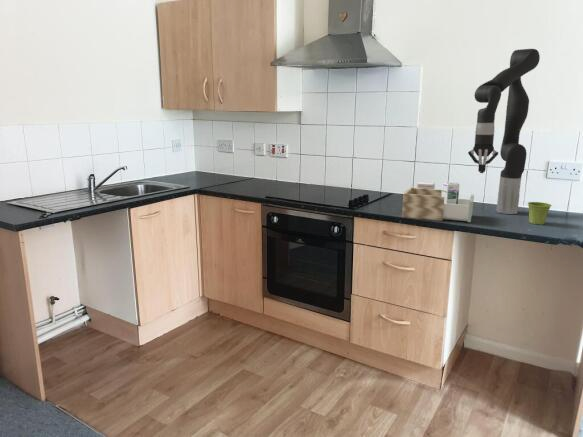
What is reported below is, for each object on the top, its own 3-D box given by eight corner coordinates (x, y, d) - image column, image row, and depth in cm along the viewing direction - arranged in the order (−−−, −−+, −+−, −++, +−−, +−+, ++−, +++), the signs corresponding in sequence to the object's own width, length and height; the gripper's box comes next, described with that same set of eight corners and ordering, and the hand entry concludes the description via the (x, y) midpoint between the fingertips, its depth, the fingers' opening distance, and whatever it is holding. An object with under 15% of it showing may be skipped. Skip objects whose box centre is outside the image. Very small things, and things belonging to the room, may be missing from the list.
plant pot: (553, 224, 210) (556, 205, 208) (540, 226, 205) (543, 207, 203) (533, 219, 217) (536, 201, 215) (520, 222, 213) (523, 203, 211)
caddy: (446, 213, 229) (448, 190, 227) (442, 221, 213) (444, 197, 210) (408, 209, 236) (409, 187, 233) (401, 217, 220) (403, 193, 217)
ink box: (415, 205, 245) (416, 182, 243) (416, 203, 250) (418, 181, 247) (432, 206, 243) (434, 184, 240) (433, 205, 247) (435, 182, 244)
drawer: (472, 213, 225) (474, 194, 222) (470, 222, 209) (472, 201, 206) (432, 210, 231) (434, 191, 229) (427, 218, 215) (429, 198, 213)
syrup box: (445, 215, 217) (448, 184, 214) (439, 212, 223) (442, 181, 219) (457, 215, 218) (460, 183, 214) (451, 212, 223) (453, 181, 220)
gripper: (501, 132, 208) (497, 172, 212) (469, 132, 213) (466, 171, 217) (501, 134, 201) (497, 174, 205) (468, 133, 206) (465, 173, 210)
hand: (481, 172), depth 211 cm, fingers closed
